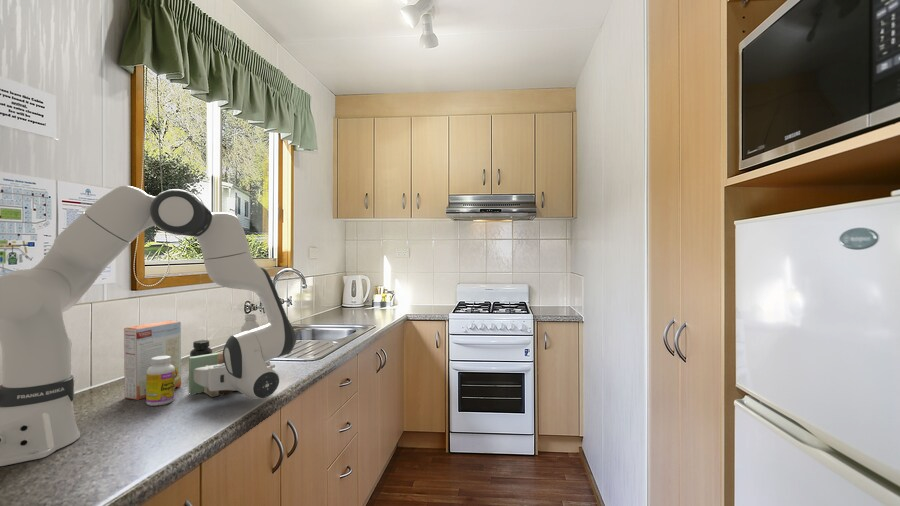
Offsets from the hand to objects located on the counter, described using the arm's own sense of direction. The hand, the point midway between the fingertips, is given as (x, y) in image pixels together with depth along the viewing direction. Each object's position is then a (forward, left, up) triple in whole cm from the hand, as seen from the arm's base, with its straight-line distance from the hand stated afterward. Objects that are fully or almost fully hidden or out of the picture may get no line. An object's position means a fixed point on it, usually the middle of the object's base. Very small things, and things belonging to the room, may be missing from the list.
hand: (224, 365), depth 132 cm
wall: (0, +5, -8) cm, 9 cm away
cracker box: (-15, +15, -8) cm, 23 cm away
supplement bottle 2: (+1, +24, -8) cm, 25 cm away
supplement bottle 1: (-16, +3, -8) cm, 18 cm away
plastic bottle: (+16, +20, -8) cm, 27 cm away
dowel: (0, -1, -8) cm, 8 cm away
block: (0, 0, -8) cm, 8 cm away
